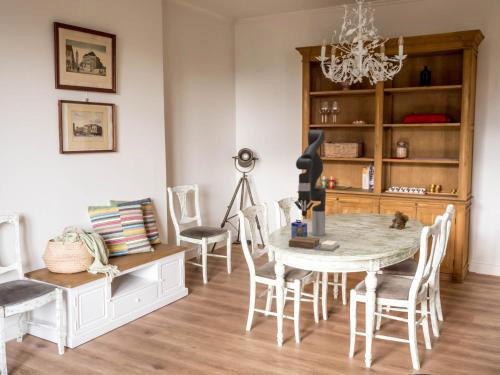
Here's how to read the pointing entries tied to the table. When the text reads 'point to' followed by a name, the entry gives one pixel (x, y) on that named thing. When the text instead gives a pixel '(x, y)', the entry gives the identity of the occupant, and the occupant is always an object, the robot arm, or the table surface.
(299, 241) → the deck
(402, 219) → the stuffed squirrel
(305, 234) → the ink cartridge box
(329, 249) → the mat
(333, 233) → the table surface
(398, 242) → the table surface
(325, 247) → the cream rectangular block
